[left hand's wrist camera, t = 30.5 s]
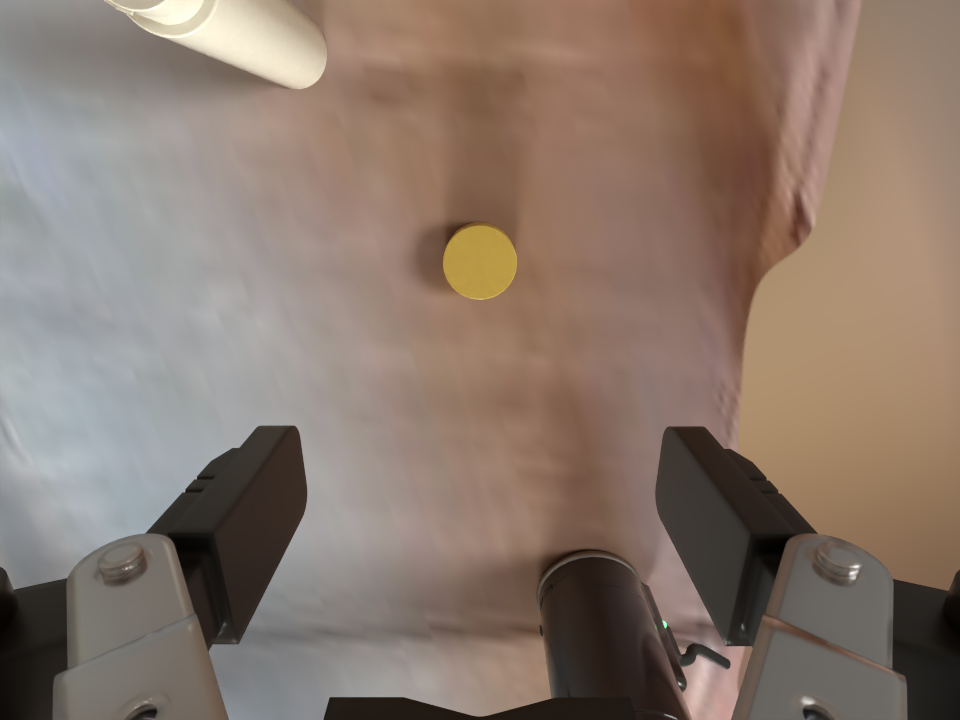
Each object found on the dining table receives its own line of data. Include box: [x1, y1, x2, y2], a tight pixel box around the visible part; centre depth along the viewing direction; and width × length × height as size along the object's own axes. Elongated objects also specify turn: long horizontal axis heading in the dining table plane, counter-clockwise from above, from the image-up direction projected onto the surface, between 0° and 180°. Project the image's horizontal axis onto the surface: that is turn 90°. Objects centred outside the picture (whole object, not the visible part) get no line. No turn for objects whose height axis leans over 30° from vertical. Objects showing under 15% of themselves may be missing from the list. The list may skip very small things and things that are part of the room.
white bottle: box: [105, 0, 327, 89], centre depth 24 cm, size 4×4×16 cm
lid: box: [443, 222, 517, 299], centre depth 35 cm, size 5×5×2 cm
